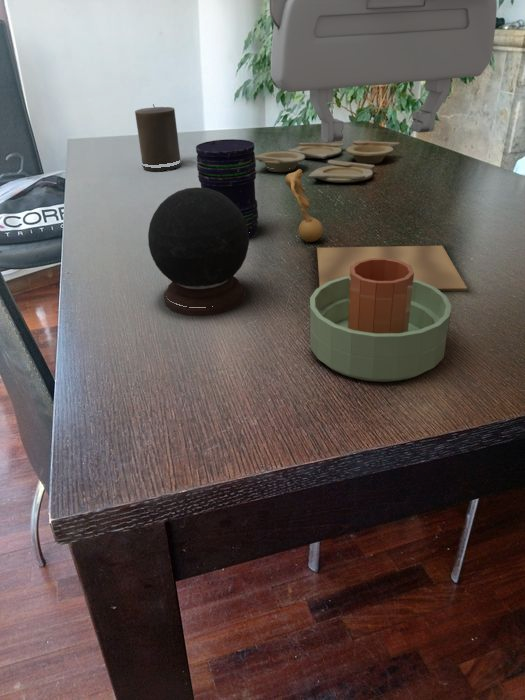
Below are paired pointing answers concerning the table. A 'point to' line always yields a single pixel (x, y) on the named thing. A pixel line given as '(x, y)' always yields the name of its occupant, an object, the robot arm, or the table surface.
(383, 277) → the cup
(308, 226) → the figurine
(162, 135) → the pillar candle
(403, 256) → the placemat
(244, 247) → the black ball on stand
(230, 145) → the storage jar
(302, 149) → the tableware set
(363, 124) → the table surface
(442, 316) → the bowl
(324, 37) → the robot arm
